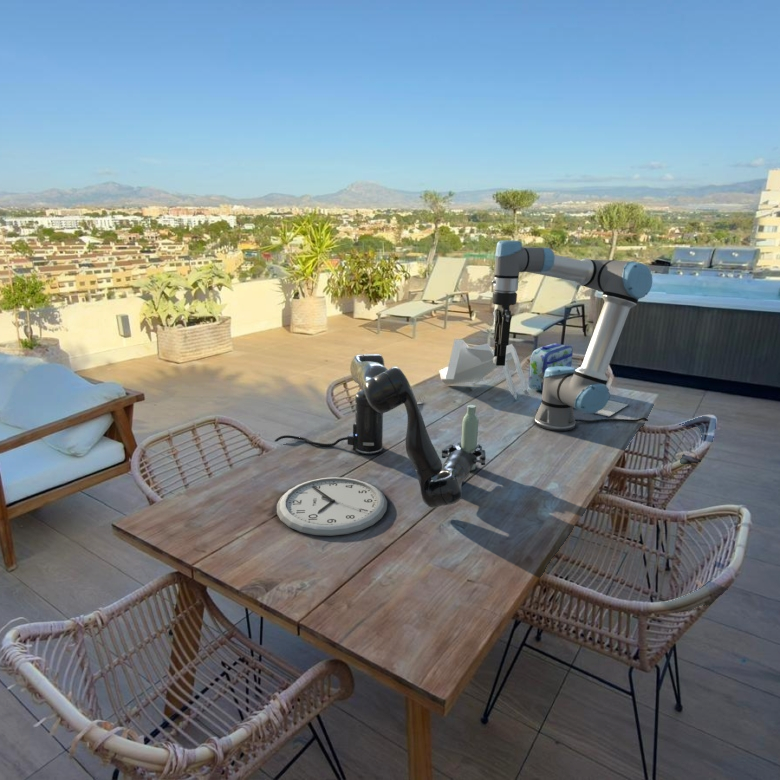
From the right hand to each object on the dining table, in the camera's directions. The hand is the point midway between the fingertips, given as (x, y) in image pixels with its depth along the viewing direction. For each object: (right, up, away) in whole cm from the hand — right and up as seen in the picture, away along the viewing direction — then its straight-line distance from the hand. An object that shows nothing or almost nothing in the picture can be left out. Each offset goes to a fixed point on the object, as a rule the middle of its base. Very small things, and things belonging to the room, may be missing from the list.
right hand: (499, 363), depth 171 cm
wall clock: (-51, -40, -29) cm, 71 cm away
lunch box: (+41, -8, +81) cm, 91 cm away
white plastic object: (+6, -10, +72) cm, 73 cm away
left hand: (-10, -27, -4) cm, 29 cm away
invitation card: (+56, -16, +55) cm, 80 cm away
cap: (0, +2, -1) cm, 2 cm away
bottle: (-11, -33, -4) cm, 35 cm away
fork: (-24, -16, +51) cm, 59 cm away
